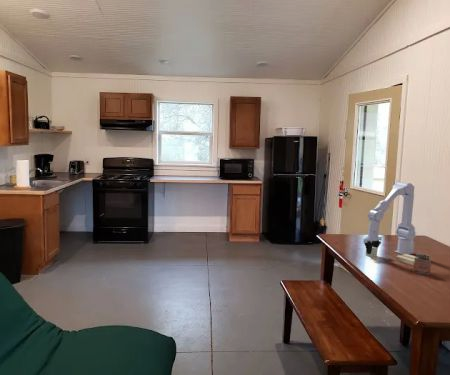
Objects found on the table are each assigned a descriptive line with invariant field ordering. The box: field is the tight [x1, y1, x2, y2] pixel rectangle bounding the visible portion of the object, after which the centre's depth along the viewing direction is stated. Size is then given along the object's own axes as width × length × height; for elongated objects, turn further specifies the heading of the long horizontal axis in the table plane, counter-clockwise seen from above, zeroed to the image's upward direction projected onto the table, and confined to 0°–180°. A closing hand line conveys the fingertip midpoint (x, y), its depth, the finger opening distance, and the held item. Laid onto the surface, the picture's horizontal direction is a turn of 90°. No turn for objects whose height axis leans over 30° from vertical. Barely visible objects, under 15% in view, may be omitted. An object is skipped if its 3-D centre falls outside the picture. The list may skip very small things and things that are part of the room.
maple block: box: [395, 254, 416, 267], centre depth 220 cm, size 10×10×3 cm
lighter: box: [412, 252, 433, 275], centre depth 201 cm, size 8×3×10 cm, turn 71°
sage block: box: [365, 247, 379, 258], centre depth 228 cm, size 4×4×5 cm
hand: (371, 253), depth 228 cm, fingers closed on sage block, 4 cm apart
